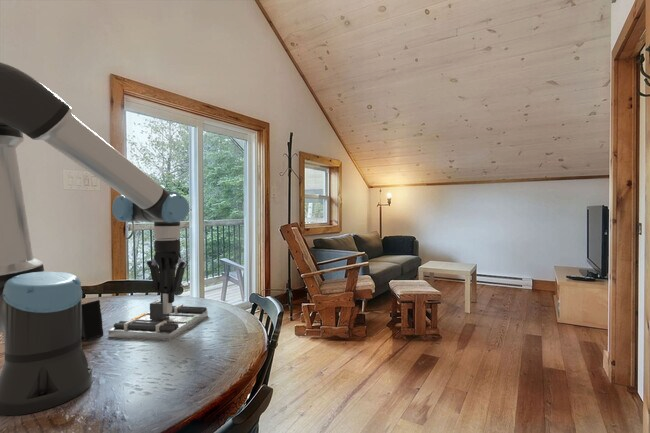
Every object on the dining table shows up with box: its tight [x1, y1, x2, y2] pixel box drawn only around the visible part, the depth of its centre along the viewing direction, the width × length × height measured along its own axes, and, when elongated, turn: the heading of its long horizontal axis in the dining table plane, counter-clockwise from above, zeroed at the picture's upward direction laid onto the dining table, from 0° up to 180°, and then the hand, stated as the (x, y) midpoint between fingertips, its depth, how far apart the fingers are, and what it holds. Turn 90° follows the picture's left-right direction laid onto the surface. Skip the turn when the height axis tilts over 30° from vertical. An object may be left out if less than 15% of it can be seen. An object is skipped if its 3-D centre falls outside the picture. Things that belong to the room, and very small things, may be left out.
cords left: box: [113, 318, 178, 332], centre depth 96 cm, size 4×19×2 cm, turn 82°
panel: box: [107, 309, 209, 342], centre depth 104 cm, size 22×19×2 cm
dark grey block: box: [149, 299, 169, 320], centre depth 105 cm, size 4×4×5 cm
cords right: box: [172, 303, 208, 313], centre depth 113 cm, size 4×19×2 cm, turn 83°
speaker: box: [81, 299, 104, 342], centre depth 96 cm, size 8×6×10 cm
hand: (167, 312), depth 105 cm, fingers closed
